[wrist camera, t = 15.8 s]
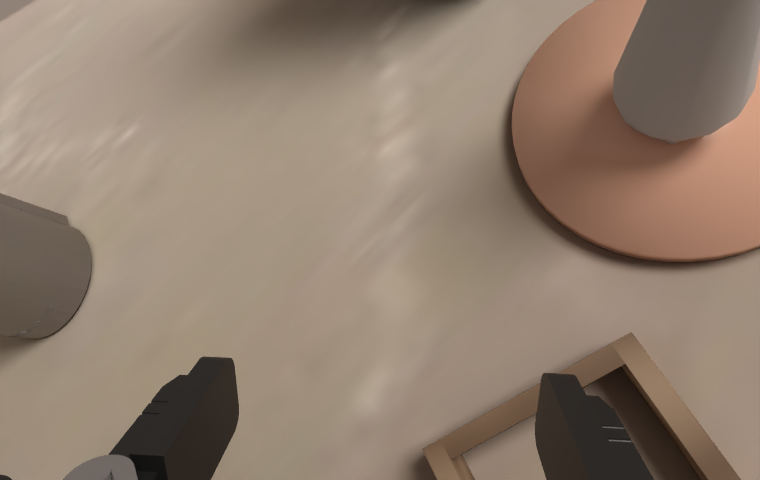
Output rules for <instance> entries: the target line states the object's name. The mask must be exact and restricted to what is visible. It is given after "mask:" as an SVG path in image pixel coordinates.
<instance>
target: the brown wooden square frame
mask: <svg viewBox="0 0 760 480" xmlns="http://www.w3.org/2000/svg"><path fill="white" fill-rule="evenodd" d="M619 367H622V368H623V370H624V371H625V373H626V374H627V376H628V377H629V378H630V380H631V381H632V383H633V384H634V385H635V387H636V388H637V390H638V391H639V393H640V394H641V395H642V397H643V398H644V400H645V401H646V402H647V404H648V405H649V407H650V408H651V409H652V411H653V412H654V414H655V415H656V417H657V418H658V419H659V421H660V422H661V424H662V425H663V426H664V428H665V429H666V431H667V432H668V433H669V435H670V436H671V438H672V439H673V441H674V442H675V443H676V445H677V446H678V448H679V449H680V450H681V452H682V453H683V455H684V456H685V457H686V459H687V460H688V462H689V463H690V465H691V466H692V467H693V469H694V470H695V472H696V473H697V474H698V476H699V477H700V479H701V480H741V479H740V478H739V476H738V475H737V474H736V472H735V471H734V470H733V468H732V467H731V466H730V464H729V463H728V461H727V460H726V459H725V457H724V456H723V455H722V453H721V452H720V451H719V449H718V448H717V447H716V445H715V444H714V443H713V441H712V440H711V439H710V437H709V436H708V435H707V433H706V432H705V430H704V429H703V428H702V426H701V425H700V424H699V422H698V421H697V420H696V418H695V417H694V416H693V414H692V413H691V412H690V410H689V409H688V408H687V406H686V405H685V403H684V402H683V401H682V399H681V398H680V397H679V395H678V394H677V393H676V391H675V390H674V389H673V387H672V386H671V385H670V383H669V382H668V381H667V379H666V378H665V377H664V375H663V374H662V372H661V371H660V370H659V368H658V367H657V366H656V364H655V363H654V362H653V360H652V359H651V358H650V356H649V355H648V354H647V352H646V351H645V350H644V348H643V347H642V345H641V344H640V343H639V341H638V340H637V339H636V337H635V336H634V335H633V333H632V332H631V333H629V334H627V335H625V336H624V337H622V338H620V339H618V340H616V341H615V342H613V343H611V344H609V345H607V346H606V347H604V348H602V349H600V350H598V351H597V352H595V353H593V354H591V355H590V356H588V357H586V358H584V359H582V360H581V361H579V362H577V363H575V364H573V365H572V366H570V367H568V368H566V369H565V370H563V371H561V372H559V373H557V374H574V375H575V376H576V377H577V379H578V380H579V382H580V384H581V386H582V388H583V387H584V386H586V385H588V384H590V383H592V382H594V381H595V380H597V379H599V378H601V377H603V376H604V375H606V374H608V373H610V372H612V371H614V370H615V369H617V368H619ZM540 384H541V383H540ZM540 384H538V385H536V386H534V387H532V388H531V389H529V390H527V391H525V392H523V393H522V394H520V395H518V396H516V397H515V398H513V399H511V400H509V401H507V402H506V403H504V404H502V405H500V406H498V407H497V408H495V409H493V410H491V411H489V412H488V413H486V414H484V415H482V416H481V417H479V418H477V419H475V420H473V421H472V422H470V423H468V424H466V425H464V426H463V427H461V428H459V429H457V430H456V431H454V432H452V433H450V434H448V435H447V436H445V437H443V438H441V439H439V440H438V441H436V442H434V443H432V444H431V445H429V446H427V447H425V448H423V449H422V450H423V452H424V454H425V456H426V458H427V460H428V462H429V464H430V466H431V468H432V470H433V472H434V474H435V476H436V478H437V480H475V479H474V477H473V475H472V473H471V471H470V469H469V467H468V465H467V464H466V462H465V460H464V458H463V456H462V454H463V453H464V452H466V451H468V450H470V449H472V448H473V447H475V446H477V445H479V444H481V443H483V442H484V441H486V440H488V439H490V438H492V437H493V436H495V435H497V434H499V433H501V432H503V431H504V430H506V429H508V428H510V427H512V426H513V425H515V424H517V423H519V422H521V421H523V420H524V419H526V418H528V417H530V416H532V415H533V414H535V413H537V407H538V399H539V392H540Z"/></svg>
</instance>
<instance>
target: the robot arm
mask: <svg viewBox="0 0 760 480" xmlns="http://www.w3.org/2000/svg"><path fill="white" fill-rule="evenodd" d="M91 266H92V264H91V252H90V248H89V244H88V242H87V240H86V238H85V237H84V235H83V234H82V233H81V232H80V231H79V230H77V229H75V228H73V227H71V226H70V225H69V224H68V221H67V217H66V216H64V215H62V214H59V213H56V212H53V211H50V210H47V209H44V208H41V207H38V206H36V205H33V204H30V203H27V202H24V201H21V200H18V199H15V198H13V197H10V196H7V195H4V194H1V193H0V336H8V337H20V338H30V339H39V338H43V337H46V336H49V335H51V334H52V333H54V332H56V331H58V330H59V329H60V328H61V327H62V326H64V325H65V324H66V323H67V322H68V321H69V319H70V318H71V317H72V316H73V315H74V313H75V312H76V310H77V309H78V307H79V305H80V304H81V302H82V300H83V297H84V295H85V293H86V290H87V287H88V283H89V280H90V274H91ZM238 416H239V403H238V394H237V385H236V376H235V366H234V362H233V360H232V359H231V358H222V357H202V358H200V359H199V361H198V362H197V363H196V365H195V366H194V367H193V369H192V370H191V371H190V373H189V374H188V375H179V376H178V377H176V378H175V379H173V380H172V381H170V382H169V383H167V384H166V385H164V386H163V387H162V388H161V389H160V391H159V392H158V393H157V394H156V396H155V397H154V398H153V399H152V402H151V403H149V404H148V406H147V407H146V408H145V409H144V411H143V412H142V415H140V416H139V417H138V418H137V419H136V421H135V422H134V423H133V425H132V426H131V427H130V428H129V430H128V431H127V432H126V433H125V435H124V436H123V437H122V438H121V440H120V441H119V442H118V443H117V445H116V446H115V447H114V448H113V450H112V451H111V452H110V453H109V455H105V456H100V457H97V458H94V459H91V460H89V461H86V462H85V463H83V464H81V465H79V466H78V467H76V468H75V469H73V470H72V471H71V472H70V473H69V474H67V475H66V476H65V478H64V479H63V480H211V478H212V476H213V474H214V472H215V470H216V468H217V466H218V464H219V462H220V460H221V458H222V456H223V454H224V452H225V450H226V448H227V446H228V444H229V442H230V440H231V438H232V436H233V434H234V432H235V429H236V426H237V422H238ZM535 439H536V446H537V450H538V453H539V457H540V460H541V463H542V466H543V470H544V473H545V476H546V479H547V480H654V479H653V477H652V476H651V474H650V472H649V470H648V469H647V467H646V465H645V463H644V461H643V460H642V458H641V456H640V454H639V453H638V451H637V449H636V447H635V446H634V444H633V443H631V439H630V437H629V435H628V433H627V432H626V430H625V429H624V428H623V424H622V423H621V421H620V419H619V417H618V416H617V414H616V412H615V410H614V409H612V408H611V407H610V406H609V405H608V404H607V403H605V402H604V401H603V400H602V399H601V398H600V397H598V396H587V395H586V394H585V392H584V390H583V388H582V386H581V384H580V382H579V380H578V379H577V377H576V376H575V375H574V374H555V373H544V374H543V375H542V378H541V384H540V392H539V399H538V407H537V414H536V422H535ZM0 480H12V479H11V478H9V477H8V476H5V475H0Z"/></svg>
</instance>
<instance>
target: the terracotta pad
mask: <svg viewBox="0 0 760 480" xmlns="http://www.w3.org/2000/svg"><path fill="white" fill-rule="evenodd" d="M646 1H647V0H596V1H594V2H593V3H591V4H589V5H588V6H586V7H585V8H583V9H581V10H580V11H578V12H577V13H575V14H574V15H573V16H571V17H570V18H569V19H568V20H566V21H565V22H564V23H562V24H561V25H560V26H559V27H558V28H557V29H556V30H555V31H554V32H553V33H552V34H551V35H550V36H549V37H548V38H547V39H546V40H545V42H544V43H543V44H542V45H541V46H540V48H539V49H538V50H537V51H536V53H535V55H534V56H533V58H532V59H531V61H530V62H529V64H528V65H527V67H526V70H525V72H524V74H523V76H522V78H521V80H520V83H519V86H518V89H517V92H516V95H515V99H514V105H513V110H512V136H513V144H514V149H515V153H516V156H517V160H518V163H519V167H520V170H521V172H522V174H523V177H524V179H525V181H526V183H527V185H528V187H529V188H530V190H531V191H532V193H533V194H534V196H535V198H536V199H537V200H538V201H539V203H540V204H541V205H542V206H543V207H544V208H545V210H546V211H547V212H548V213H549V214H550V215H551V216H552V217H554V218H555V219H556V220H557V221H558V222H559V223H560V224H562V225H563V226H564V227H566V228H567V229H569V230H570V231H572V232H573V233H575V234H576V235H578V236H579V237H581V238H583V239H585V240H587V241H589V242H591V243H593V244H595V245H597V246H599V247H602V248H604V249H607V250H610V251H613V252H615V253H618V254H622V255H626V256H630V257H635V258H639V259H644V260H653V261H661V262H697V261H707V260H716V259H720V258H725V257H730V256H734V255H739V254H742V253H745V252H748V251H751V250H754V249H757V248H759V247H760V61H759V67H758V73H757V79H756V85H755V90H754V91H753V93H752V95H751V96H750V98H749V100H748V102H747V103H746V105H745V107H744V109H743V110H742V112H741V114H740V115H739V116H738V117H737V118H736V119H734V120H732V121H731V122H729V123H728V124H726V125H724V126H723V127H721V128H720V129H718V130H716V131H715V132H713V133H712V134H710V135H706V136H702V137H697V138H693V139H688V140H684V141H679V142H677V143H674V144H669V143H666V142H664V141H661V140H658V139H655V138H652V137H649V136H647V135H644V134H642V133H639V132H636V131H635V130H634V129H632V128H631V127H630V126H629V125H628V124H626V123H625V121H624V119H623V117H622V115H621V113H620V112H619V110H618V108H617V106H616V104H615V102H614V98H613V81H614V72H615V69H616V67H617V65H618V63H619V61H620V58H621V56H622V54H623V52H624V50H625V47H626V45H627V43H628V41H629V39H630V36H631V34H632V32H633V30H634V28H635V25H636V23H637V21H638V19H639V17H640V14H641V12H642V10H643V8H644V5H645V3H646Z"/></svg>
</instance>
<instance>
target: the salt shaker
mask: <svg viewBox="0 0 760 480" xmlns="http://www.w3.org/2000/svg"><path fill="white" fill-rule="evenodd" d="M759 61H760V0H647V1H646V3H645V5H644V8H643V10H642V12H641V14H640V17H639V19H638V21H637V23H636V25H635V28H634V30H633V32H632V34H631V36H630V39H629V41H628V43H627V45H626V47H625V50H624V52H623V54H622V56H621V58H620V61H619V63H618V65H617V67H616V69H615V72H614V81H613V98H614V102H615V104H616V106H617V108H618V110H619V112H620V113H621V115H622V117H623V119H624V121H625V123H626V124H628V125H629V126H630V127H631V128H632V129H634V130H635V131H636V132H639V133H642V134H644V135H647V136H649V137H652V138H655V139H658V140H661V141H664V142H666V143H669V144H674V143H677V142H679V141H684V140H688V139H693V138H697V137H702V136H706V135H710V134H712V133H713V132H715V131H716V130H718V129H720V128H721V127H723V126H724V125H726V124H728V123H729V122H731V121H732V120H734V119H736V118H737V117H738V116H739V115H740V114H741V112H742V110H743V109H744V107H745V105H746V103H747V102H748V100H749V98H750V96H751V95H752V93H753V91H754V90H755V85H756V79H757V73H758V67H759Z"/></svg>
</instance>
